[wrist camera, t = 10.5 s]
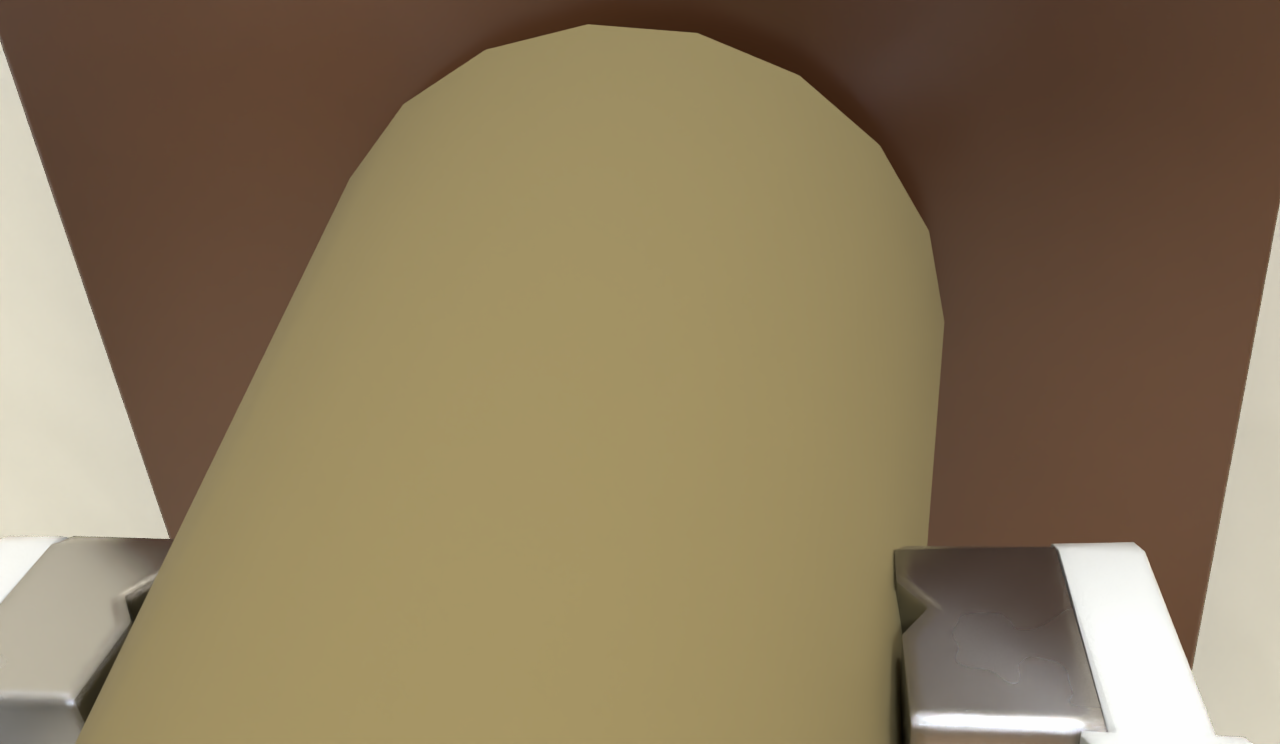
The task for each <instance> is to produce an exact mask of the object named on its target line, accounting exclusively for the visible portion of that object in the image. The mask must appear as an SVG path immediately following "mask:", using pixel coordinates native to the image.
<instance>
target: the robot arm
mask: <svg viewBox="0 0 1280 744" xmlns="http://www.w3.org/2000/svg"><path fill="white" fill-rule="evenodd" d="M173 541H174V539H150V538H117V537H84V536H73V537H70V538H67V537H61V536H6V537H3V538H0V744H75V742H76V740H77V738H78V736H79V734H80V732H81V730H82V728H83V726H84V724H85V722H86V720H87V718H88V716H89V714H90V712H91V710H92V708H93V705H94V703H95V701H96V699H97V697H98V695H99V693H100V691H101V689H102V687H103V685H104V683H105V681H106V679H107V677H108V675H109V673H110V670H111V668H112V666H113V664H114V662H115V660H116V658H117V656H118V654H119V652H120V650H121V648H122V646H123V644H124V642H125V640H126V638H127V636H128V633H129V631H130V629H131V627H132V625H133V623H134V621H135V619H136V617H137V615H138V613H139V611H140V609H141V607H142V605H143V603H144V601H145V599H146V596H147V594H148V592H149V590H150V588H151V586H152V584H153V582H154V580H155V578H156V576H157V574H158V572H159V570H160V568H161V566H162V564H163V561H164V559H165V557H166V555H167V553H168V551H169V549H170V547H171V545H172V543H173ZM894 560H895V578H896V597H897V603H898V609H899V615H900V622H901V628H902V634H903V635H902V649H901V675H900V707H901V732H902V744H1253V743H1252V742H1250V741H1249V740H1248V739H1247V738H1245V737H1237V736H1217V735H1216V733H1215V730H1214V728H1213V725H1212V723H1211V720H1210V717H1209V715H1208V712H1207V710H1206V707H1205V705H1204V702H1203V699H1202V697H1201V694H1200V692H1199V689H1198V687H1197V684H1196V682H1195V679H1194V676H1193V674H1192V671H1191V669H1190V666H1189V664H1188V661H1187V658H1186V656H1185V653H1184V651H1183V648H1182V646H1181V643H1180V640H1179V638H1178V635H1177V633H1176V630H1175V628H1174V625H1173V623H1172V620H1171V617H1170V615H1169V612H1168V610H1167V607H1166V605H1165V602H1164V599H1163V597H1162V594H1161V592H1160V589H1159V587H1158V584H1157V581H1156V579H1155V576H1154V574H1153V571H1152V569H1151V566H1150V563H1149V561H1148V558H1147V556H1146V553H1145V551H1144V550H1142V549H1141V548H1140V547H1139V546H1138V545H1136V544H1135V543H1134V542H1116V543H1063V544H1052V545H1051V547H1048V546H903V547H901V548H899V549H895V550H894Z"/></svg>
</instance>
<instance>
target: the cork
mask: <svg viewBox="0 0 1280 744" xmlns="http://www.w3.org/2000/svg"><path fill="white" fill-rule="evenodd" d="M943 334H944V316H943V310H942V305H941V299H940V293H939V287H938V281H937V275H936V269H935V263H934V257H933V251H932V245H931V239H930V233H929V230H928V228H927V227H926V225H925V223H924V221H923V220H922V218H921V216H920V214H919V213H918V211H917V209H916V207H915V206H914V204H913V202H912V200H911V199H910V197H909V195H908V194H907V192H906V190H905V188H904V187H903V185H902V183H901V181H900V180H899V178H898V176H897V174H896V173H895V171H894V169H893V167H892V166H891V164H890V162H889V160H888V159H887V157H886V155H885V153H884V152H883V150H882V148H881V146H880V145H879V144H878V143H877V142H876V141H874V140H873V139H872V138H871V137H870V136H869V135H868V134H866V133H865V132H864V131H863V130H862V129H861V128H859V127H858V126H857V125H856V124H855V123H854V122H853V121H851V120H850V119H849V118H848V117H847V116H846V115H844V114H843V113H842V112H841V111H840V110H839V109H838V108H836V107H835V106H834V105H833V104H832V103H831V102H829V101H828V100H827V99H826V98H825V97H824V96H823V95H821V94H820V93H819V92H818V91H817V90H816V89H814V88H813V87H812V86H811V85H810V84H809V83H808V82H806V81H805V80H804V79H803V78H802V77H801V76H800V75H797V74H795V73H792V72H790V71H788V70H785V69H783V68H780V67H778V66H776V65H773V64H771V63H768V62H766V61H764V60H761V59H759V58H756V57H754V56H752V55H749V54H747V53H744V52H742V51H740V50H737V49H735V48H732V47H730V46H728V45H725V44H723V43H720V42H718V41H716V40H713V39H711V38H708V37H706V36H704V35H701V34H699V33H691V32H678V31H666V30H653V29H641V28H628V27H616V26H603V25H591V24H587V25H583V26H579V27H575V28H571V29H567V30H563V31H559V32H555V33H551V34H547V35H543V36H539V37H535V38H531V39H527V40H523V41H519V42H515V43H511V44H507V45H503V46H499V47H495V48H491V49H487V50H484V51H483V52H481V53H480V54H478V55H477V56H475V57H474V58H472V59H471V60H469V61H468V62H466V63H465V64H463V65H462V66H460V67H459V68H457V69H456V70H454V71H453V72H451V73H450V74H448V75H447V76H445V77H444V78H442V79H441V80H439V81H438V82H436V83H435V84H433V85H432V86H430V87H429V88H427V89H426V90H424V91H422V92H421V93H419V94H418V95H416V96H415V97H413V98H412V99H410V100H409V101H407V102H406V103H404V104H403V105H402V107H401V108H400V110H399V111H398V112H397V114H396V115H395V116H394V118H393V119H392V121H391V122H390V123H389V125H388V126H387V128H386V129H385V130H384V132H383V133H382V134H381V136H380V137H379V139H378V140H377V141H376V143H375V144H374V146H373V147H372V148H371V150H370V151H369V152H368V154H367V155H366V157H365V158H364V159H363V161H362V162H361V164H360V165H359V166H358V168H357V169H356V170H355V172H354V173H353V175H352V176H351V177H350V179H349V181H348V183H347V185H346V187H345V189H344V191H343V193H342V195H341V197H340V199H339V202H338V204H337V206H336V208H335V210H334V212H333V214H332V216H331V218H330V220H329V222H328V224H327V226H326V228H325V230H324V232H323V234H322V236H321V239H320V241H319V243H318V245H317V247H316V249H315V251H314V253H313V255H312V257H311V259H310V261H309V263H308V265H307V267H306V269H305V271H304V274H303V276H302V278H301V280H300V282H299V284H298V286H297V288H296V290H295V292H294V294H293V296H292V298H291V300H290V302H289V304H288V306H287V308H286V311H285V313H284V315H283V317H282V319H281V321H280V323H279V325H278V327H277V329H276V331H275V333H274V335H273V337H272V339H271V341H270V343H269V346H268V348H267V350H266V352H265V354H264V356H263V358H262V360H261V362H260V364H259V366H258V368H257V370H256V372H255V374H254V376H253V378H252V380H251V383H250V385H249V387H248V389H247V391H246V393H245V395H244V397H243V399H242V401H241V403H240V405H239V407H238V409H237V411H236V413H235V415H234V418H233V420H232V422H231V424H230V426H229V428H228V430H227V432H226V434H225V436H224V438H223V440H222V442H221V444H220V446H219V448H218V450H217V452H216V455H215V457H214V459H213V461H212V463H211V465H210V467H209V469H208V471H207V473H206V475H205V477H204V479H203V481H202V483H201V485H200V487H199V489H198V492H197V494H196V496H195V498H194V500H193V502H192V504H191V506H190V508H189V510H188V512H187V514H186V516H185V518H184V520H183V522H182V524H181V527H180V529H179V531H178V533H177V535H176V537H175V539H174V541H173V543H172V545H171V547H170V549H169V551H168V553H167V555H166V557H165V559H164V561H163V564H162V566H161V568H160V570H159V572H158V574H157V576H156V578H155V580H154V582H153V584H152V586H151V588H150V590H149V592H148V594H147V596H146V599H145V601H144V603H143V605H142V607H141V609H140V611H139V613H138V615H137V617H136V619H135V621H134V623H133V625H132V627H131V629H130V631H129V633H128V636H127V638H126V640H125V642H124V644H123V646H122V648H121V650H120V652H119V654H118V656H117V658H116V660H115V662H114V664H113V666H112V668H111V670H110V673H109V675H108V677H107V679H106V681H105V683H104V685H103V687H102V689H101V691H100V693H99V695H98V697H97V699H96V701H95V703H94V705H93V708H92V710H91V712H90V714H89V716H88V718H87V720H86V722H85V724H84V726H83V728H82V730H81V732H80V734H79V736H78V738H77V740H76V742H75V744H902V732H901V707H900V675H901V649H902V635H903V634H902V628H901V622H900V615H899V609H898V603H897V597H896V578H895V560H894V550H895V549H899V548H901V547H903V546H927V541H928V528H929V515H930V502H931V489H932V477H933V464H934V451H935V438H936V425H937V412H938V399H939V386H940V373H941V360H942V347H943Z"/></svg>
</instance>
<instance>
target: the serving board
mask: <svg viewBox="0 0 1280 744" xmlns="http://www.w3.org/2000/svg"><path fill="white" fill-rule="evenodd" d="M587 24H591V25H603V26H616V27H628V28H641V29H653V30H666V31H678V32H691V33H699V34H701V35H704V36H706V37H708V38H711V39H713V40H716V41H718V42H720V43H723V44H725V45H728V46H730V47H732V48H735V49H737V50H740V51H742V52H744V53H747V54H749V55H752V56H754V57H756V58H759V59H761V60H764V61H766V62H768V63H771V64H773V65H776V66H778V67H780V68H783V69H785V70H788V71H790V72H792V73H795V74H797V75H800V76H801V77H802V78H803V79H804V80H805V81H806V82H808V83H809V84H810V85H811V86H812V87H813V88H814V89H816V90H817V91H818V92H819V93H820V94H821V95H823V96H824V97H825V98H826V99H827V100H828V101H829V102H831V103H832V104H833V105H834V106H835V107H836V108H838V109H839V110H840V111H841V112H842V113H843V114H844V115H846V116H847V117H848V118H849V119H850V120H851V121H853V122H854V123H855V124H856V125H857V126H858V127H859V128H861V129H862V130H863V131H864V132H865V133H866V134H868V135H869V136H870V137H871V138H872V139H873V140H874V141H876V142H877V143H878V144H879V145H880V146H881V148H882V150H883V152H884V153H885V155H886V157H887V159H888V160H889V162H890V164H891V166H892V167H893V169H894V171H895V173H896V174H897V176H898V178H899V180H900V181H901V183H902V185H903V187H904V188H905V190H906V192H907V194H908V195H909V197H910V199H911V200H912V202H913V204H914V206H915V207H916V209H917V211H918V213H919V214H920V216H921V218H922V220H923V221H924V223H925V225H926V227H927V228H928V230H929V233H930V239H931V245H932V251H933V257H934V263H935V269H936V275H937V281H938V287H939V293H940V299H941V305H942V310H943V316H944V334H943V347H942V360H941V373H940V386H939V399H938V412H937V425H936V438H935V451H934V464H933V477H932V489H931V502H930V515H929V528H928V541H927V546H1048V547H1051V545H1052V544H1063V543H1116V542H1134V543H1135V544H1136V545H1138V546H1139V547H1140V548H1141V549H1142V550H1144V551H1145V553H1146V556H1147V558H1148V561H1149V563H1150V566H1151V569H1152V571H1153V574H1154V576H1155V579H1156V581H1157V584H1158V587H1159V589H1160V592H1161V594H1162V597H1163V599H1164V602H1165V605H1166V607H1167V610H1168V612H1169V615H1170V617H1171V620H1172V623H1173V625H1174V628H1175V630H1176V633H1177V635H1178V638H1179V640H1180V643H1181V646H1182V648H1183V651H1184V653H1185V656H1186V658H1187V661H1188V664H1189V666H1190V669H1191V671H1192V667H1193V662H1194V656H1195V651H1196V646H1197V640H1198V635H1199V630H1200V625H1201V619H1202V614H1203V609H1204V603H1205V598H1206V593H1207V587H1208V582H1209V577H1210V571H1211V566H1212V561H1213V555H1214V550H1215V545H1216V539H1217V534H1218V529H1219V523H1220V518H1221V513H1222V507H1223V502H1224V497H1225V491H1226V486H1227V481H1228V476H1229V470H1230V465H1231V460H1232V454H1233V449H1234V444H1235V438H1236V433H1237V428H1238V422H1239V417H1240V412H1241V406H1242V401H1243V396H1244V390H1245V385H1246V380H1247V374H1248V369H1249V364H1250V358H1251V353H1252V348H1253V342H1254V337H1255V332H1256V327H1257V321H1258V316H1259V311H1260V305H1261V300H1262V295H1263V289H1264V284H1265V279H1266V273H1267V268H1268V263H1269V257H1270V252H1271V247H1272V241H1273V236H1274V231H1275V225H1276V220H1277V215H1278V209H1279V204H1280V0H0V42H1V44H2V47H3V50H4V53H5V56H6V59H7V62H8V65H9V68H10V71H11V74H12V77H13V80H14V83H15V86H16V88H17V91H18V94H19V97H20V100H21V103H22V106H23V109H24V112H25V115H26V118H27V121H28V124H29V127H30V130H31V133H32V135H33V138H34V141H35V144H36V147H37V150H38V153H39V156H40V159H41V162H42V165H43V168H44V171H45V174H46V177H47V179H48V182H49V185H50V188H51V191H52V194H53V197H54V200H55V203H56V206H57V209H58V212H59V215H60V218H61V221H62V223H63V226H64V229H65V232H66V235H67V238H68V241H69V244H70V247H71V250H72V253H73V256H74V259H75V262H76V265H77V268H78V270H79V273H80V276H81V279H82V282H83V285H84V288H85V291H86V294H87V297H88V300H89V303H90V306H91V309H92V312H93V314H94V317H95V320H96V323H97V326H98V329H99V332H100V335H101V338H102V341H103V344H104V347H105V350H106V353H107V356H108V359H109V361H110V364H111V367H112V370H113V373H114V376H115V379H116V382H117V385H118V388H119V391H120V394H121V397H122V400H123V403H124V405H125V408H126V411H127V414H128V417H129V420H130V423H131V426H132V429H133V432H134V435H135V438H136V441H137V444H138V447H139V449H140V452H141V455H142V458H143V461H144V464H145V467H146V470H147V473H148V476H149V479H150V482H151V485H152V488H153V491H154V494H155V496H156V499H157V502H158V505H159V508H160V511H161V514H162V517H163V520H164V523H165V526H166V529H167V532H168V535H169V538H170V539H175V537H176V535H177V533H178V531H179V529H180V527H181V524H182V522H183V520H184V518H185V516H186V514H187V512H188V510H189V508H190V506H191V504H192V502H193V500H194V498H195V496H196V494H197V492H198V489H199V487H200V485H201V483H202V481H203V479H204V477H205V475H206V473H207V471H208V469H209V467H210V465H211V463H212V461H213V459H214V457H215V455H216V452H217V450H218V448H219V446H220V444H221V442H222V440H223V438H224V436H225V434H226V432H227V430H228V428H229V426H230V424H231V422H232V420H233V418H234V415H235V413H236V411H237V409H238V407H239V405H240V403H241V401H242V399H243V397H244V395H245V393H246V391H247V389H248V387H249V385H250V383H251V380H252V378H253V376H254V374H255V372H256V370H257V368H258V366H259V364H260V362H261V360H262V358H263V356H264V354H265V352H266V350H267V348H268V346H269V343H270V341H271V339H272V337H273V335H274V333H275V331H276V329H277V327H278V325H279V323H280V321H281V319H282V317H283V315H284V313H285V311H286V308H287V306H288V304H289V302H290V300H291V298H292V296H293V294H294V292H295V290H296V288H297V286H298V284H299V282H300V280H301V278H302V276H303V274H304V271H305V269H306V267H307V265H308V263H309V261H310V259H311V257H312V255H313V253H314V251H315V249H316V247H317V245H318V243H319V241H320V239H321V236H322V234H323V232H324V230H325V228H326V226H327V224H328V222H329V220H330V218H331V216H332V214H333V212H334V210H335V208H336V206H337V204H338V202H339V199H340V197H341V195H342V193H343V191H344V189H345V187H346V185H347V183H348V181H349V179H350V177H351V176H352V175H353V173H354V172H355V170H356V169H357V168H358V166H359V165H360V164H361V162H362V161H363V159H364V158H365V157H366V155H367V154H368V152H369V151H370V150H371V148H372V147H373V146H374V144H375V143H376V141H377V140H378V139H379V137H380V136H381V134H382V133H383V132H384V130H385V129H386V128H387V126H388V125H389V123H390V122H391V121H392V119H393V118H394V116H395V115H396V114H397V112H398V111H399V110H400V108H401V107H402V105H403V104H404V103H406V102H407V101H409V100H410V99H412V98H413V97H415V96H416V95H418V94H419V93H421V92H422V91H424V90H426V89H427V88H429V87H430V86H432V85H433V84H435V83H436V82H438V81H439V80H441V79H442V78H444V77H445V76H447V75H448V74H450V73H451V72H453V71H454V70H456V69H457V68H459V67H460V66H462V65H463V64H465V63H466V62H468V61H469V60H471V59H472V58H474V57H475V56H477V55H478V54H480V53H481V52H483V51H484V50H487V49H491V48H495V47H499V46H503V45H507V44H511V43H515V42H519V41H523V40H527V39H531V38H535V37H539V36H543V35H547V34H551V33H555V32H559V31H563V30H567V29H571V28H575V27H579V26H583V25H587Z"/></svg>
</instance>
